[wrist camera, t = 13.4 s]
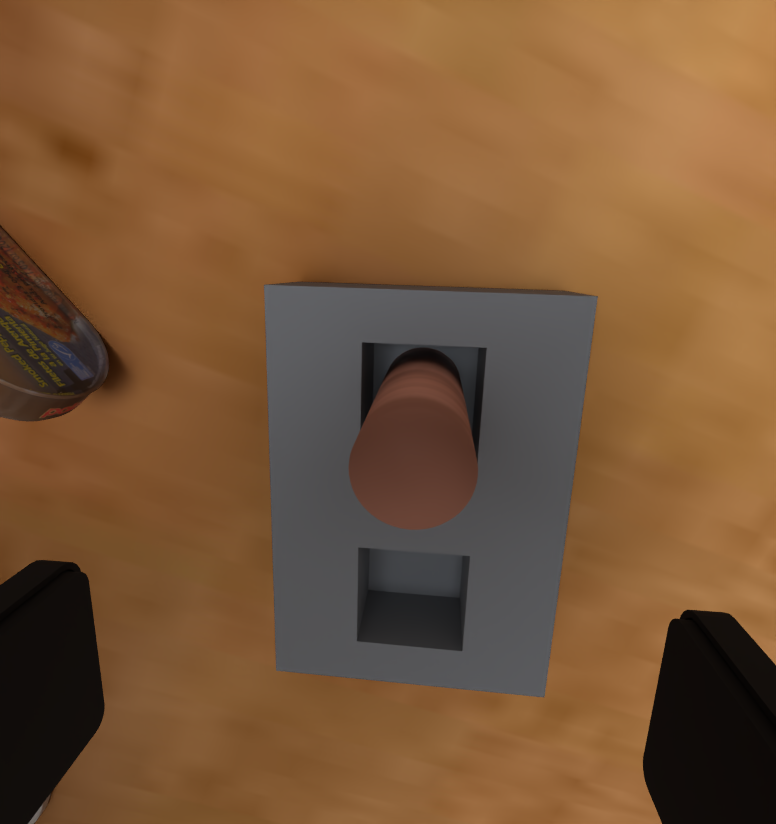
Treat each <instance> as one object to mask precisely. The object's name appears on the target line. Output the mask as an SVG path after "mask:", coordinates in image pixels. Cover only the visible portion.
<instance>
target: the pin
mask: <svg viewBox="0 0 776 824" xmlns="http://www.w3.org/2000/svg"><path fill="white" fill-rule="evenodd" d="M349 477H350V483H351V486H352V489H353V491H354V493H355V495H356V497H357V499H358V500H359V502H360V503H361V504H362V506H363V507H364V508H365V509H366V510H367V511H368V512H369V513H370V514H371V515H373V516H374V517H376V518H377V519H378V520H380V521H382V522H384V523H386V524H388V525H391V526H394V527H397V528H401V529H408V530H421V529H428V528H433V527H436V526H439V525H441V524H443V523H445V522H447V521H449V520H451V519H452V518H454V517H455V516H456V515H457V514H459V513H460V512H461V511H462V510H463V509H464V507H465V506H466V505H467V504H468V502H469V501H470V499H471V497H472V495H473V493H474V491H475V487H476V484H477V479H478V463H477V457H476V452H475V447H474V442H473V438H472V433H471V428H470V423H469V418H468V413H467V408H466V403H465V398H464V394H463V389H462V384H461V379H460V375H459V372H458V369H457V367H456V366H455V364H454V363H453V361H452V360H451V359H450V358H449V357H448V356H446V355H445V354H444V353H442V352H440V351H438V350H435V349H432V348H414V349H410V350H408V351H406V352H404V353H402V354H401V355H399V356H398V357H397V358H396V359H395V360H394V361H393V362H392V364H391V365H390V367H389V369H388V371H387V373H386V375H385V378H384V380H383V382H382V384H381V386H380V388H379V391H378V393H377V395H376V397H375V399H374V402H373V404H372V406H371V408H370V410H369V412H368V415H367V417H366V419H365V421H364V423H363V425H362V428H361V430H360V432H359V434H358V436H357V439H356V441H355V443H354V445H353V448H352V450H351V454H350V458H349Z"/></svg>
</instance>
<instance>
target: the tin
mask: <svg viewBox="0 0 776 824" xmlns="http://www.w3.org/2000/svg"><path fill="white" fill-rule="evenodd" d="M108 372H109V358H108V353H107V350H106V347H105V345H104V343H103V341H102V339H101V337H100V335H99V334H98V332H97V331H96V330H95V328H94V327H93V325H92V324H91V323H90V322H89V321H88V320H87V319H86V318H85V316H84V315H83V314H82V313H81V312H80V311H79V310H78V309H77V308H76V307H75V306H74V305H73V304H72V303H71V302H70V301H69V299H68V298H67V297H66V296H65V295H64V294H63V293H62V292H61V291H60V290H59V289H58V288H57V287H56V286H55V285H54V284H53V283H52V281H51V280H50V279H49V278H48V277H47V276H46V275H45V274H44V273H43V272H42V271H41V270H40V269H39V268H38V266H37V265H36V264H35V263H34V262H33V261H32V260H31V259H30V258H29V257H28V256H27V255H26V253H25V252H24V251H23V250H22V249H21V248H20V247H19V246H18V245H17V244H16V243H15V242H14V241H13V240H12V239H11V237H10V236H9V235H8V234H7V233H6V232H5V231H4V230H3V229H2V228H1V227H0V417H3V418H8V419H13V420H19V421H40V420H46V419H51V418H55V417H59V416H62V415H64V414H66V413H68V412H70V411H72V410H73V409H75V408H76V407H77V406H78V405H79V404H80V403H81V402H82V401H84V400H85V399H86V397H87V396H88V395H89V394H90V393H92V392H94V391H95V390H97V389H98V388H99V387H100V386H101V385H102V384H103V383H104V381H105V380H106V378H107V375H108Z"/></svg>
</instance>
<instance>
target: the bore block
mask: <svg viewBox="0 0 776 824" xmlns="http://www.w3.org/2000/svg"><path fill="white" fill-rule="evenodd" d="M264 293H265V325H266V357H267V389H268V421H269V453H270V485H271V517H272V549H273V581H274V613H275V645H276V671H286V672H296V673H306V674H316V675H326V676H336V677H346V678H356V679H366V680H376V681H386V682H396V683H406V684H416V685H426V686H436V687H446V688H456V689H466V690H476V691H486V692H496V693H506V694H516V695H526V696H536V697H544V696H545V688H546V681H547V673H548V666H549V658H550V651H551V643H552V636H553V628H554V621H555V613H556V606H557V598H558V591H559V583H560V576H561V568H562V561H563V553H564V546H565V538H566V531H567V523H568V515H569V508H570V500H571V493H572V485H573V478H574V470H575V463H576V455H577V448H578V440H579V433H580V425H581V418H582V410H583V403H584V395H585V388H586V380H587V373H588V365H589V358H590V350H591V343H592V335H593V328H594V320H595V312H596V305H597V297H598V296H592V295H586V294H580V293H575V292H569V291H556V290H527V289H498V288H468V287H439V286H410V285H381V284H352V283H322V282H291V283H280V284H268V285H264ZM414 348H432V349H435V350H438V351H440V352H442V353H444V354H445V355H446V356H448V357H449V358H450V359H451V360H452V361H453V363H454V364H455V366H456V367H457V369H458V372H459V375H460V379H461V384H462V389H463V394H464V398H465V403H466V408H467V413H468V418H469V423H470V428H471V433H472V438H473V442H474V447H475V452H476V457H477V463H478V479H477V484H476V487H475V491H474V493H473V495H472V497H471V499H470V501H469V502H468V504H467V505H466V506H465V507H464V509H463V510H462V511H461V512H460V513H459V514H457V515H456V516H455V517H454V518H452V519H451V520H449V521H447V522H445V523H443V524H441V525H439V526H436V527H433V528H428V529H421V530H408V529H401V528H397V527H394V526H391V525H388V524H386V523H384V522H382V521H380V520H378V519H377V518H376V517H374V516H373V515H371V514H370V513H369V512H368V511H367V510H366V509H365V508H364V507H363V506H362V504H361V503H360V502H359V500H358V499H357V497H356V495H355V493H354V491H353V489H352V486H351V483H350V477H349V458H350V454H351V450H352V448H353V445H354V443H355V441H356V439H357V436H358V434H359V432H360V430H361V428H362V425H363V423H364V421H365V419H366V417H367V415H368V412H369V410H370V408H371V406H372V404H373V402H374V399H375V397H376V395H377V393H378V391H379V388H380V386H381V384H382V382H383V380H384V378H385V375H386V373H387V371H388V369H389V367H390V365H391V364H392V362H393V361H394V360H395V359H396V358H397V357H398V356H399V355H401V354H402V353H404V352H406V351H408V350H410V349H414Z"/></svg>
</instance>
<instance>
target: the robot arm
mask: <svg viewBox="0 0 776 824" xmlns="http://www.w3.org/2000/svg"><path fill="white" fill-rule="evenodd" d="M103 715H104V697H103V689H102V681H101V673H100V665H99V657H98V650H97V642H96V634H95V626H94V618H93V610H92V602H91V595H90V587H89V580H88V577H87V575H86V574H85V573H83V572H81V570H80V568H79V567H78V565H77V564H75V563H73V562H61V561H48V560H38V561H35V562H33V563H31V564H29V565H28V566H27V567H25V568H24V569H22V570H21V571H20V572H18V573H17V574H15V575H14V576H13V577H11V578H10V579H8V580H7V581H6V582H4V583H3V584H1V585H0V824H34V823H35V822H36V821H37V819H38V818H39V817H40V815H41V814H42V812H43V811H44V809H45V808H46V806H47V804H48V801H49V798H50V795H51V792H52V791H53V789H54V788H55V787H56V785H57V784H58V783H59V781H60V780H61V779H62V777H63V776H64V775H65V773H66V772H67V771H68V769H69V768H70V766H71V765H72V764H73V762H74V761H75V760H76V758H77V757H78V756H79V754H80V753H81V752H82V750H83V749H84V748H85V746H86V745H87V744H88V742H89V741H90V740H91V738H92V737H93V735H94V734H95V733H96V731H97V730H98V728H99V726H100V724H101V721H102V718H103ZM643 771H644V777H645V782H646V785H647V788H648V790H649V793H650V795H651V798H652V800H653V802H654V805H655V807H656V810H657V812H658V815H659V817H660V819H661V822H662V824H776V665H775V664H774V663H773V662H772V660H771V659H770V658H769V657H768V656H767V655H766V654H765V652H764V651H763V650H762V649H761V648H760V647H759V646H758V645H757V643H756V642H755V641H754V640H753V639H752V638H751V637H750V635H749V634H748V633H747V632H746V631H745V630H744V629H743V627H742V626H741V625H740V624H739V623H738V622H737V621H736V619H735V618H734V617H732V616H731V615H730V614H728V613H723V612H710V611H697V610H686V611H684V612H683V614H682V615H681V617H680V619H673V620H672V621H671V622H670V624H669V627H668V632H667V637H666V643H665V648H664V653H663V658H662V663H661V668H660V674H659V679H658V684H657V689H656V694H655V700H654V705H653V710H652V715H651V720H650V725H649V731H648V736H647V741H646V746H645V751H644V757H643Z"/></svg>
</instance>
